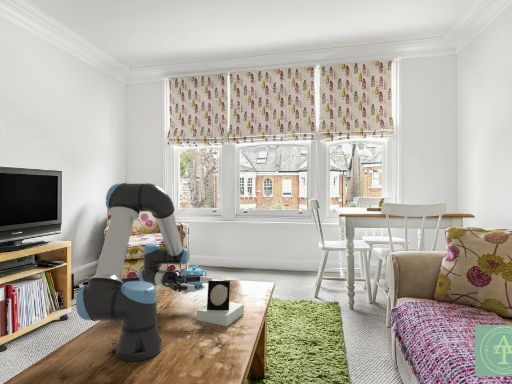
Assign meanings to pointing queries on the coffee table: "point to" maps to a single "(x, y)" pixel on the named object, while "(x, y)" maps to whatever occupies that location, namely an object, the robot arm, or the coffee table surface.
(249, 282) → the coffee table surface
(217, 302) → the decorative object
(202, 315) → the sage block
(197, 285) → the blue ceramic pot
